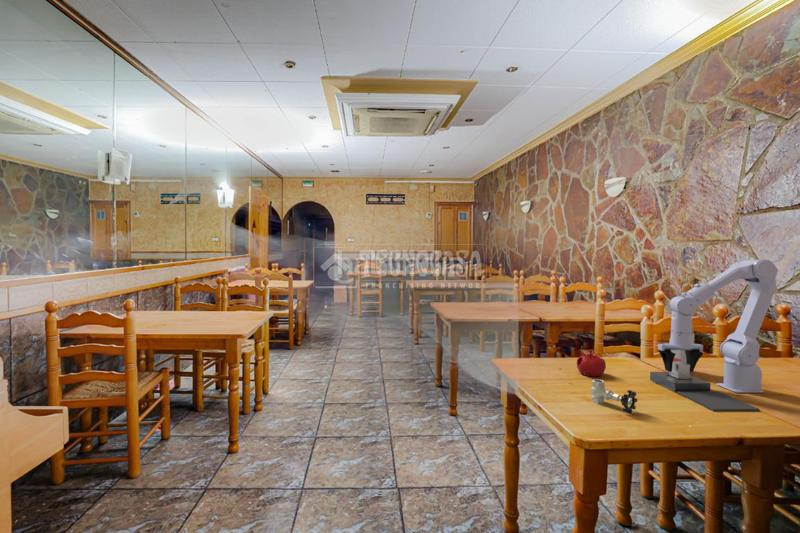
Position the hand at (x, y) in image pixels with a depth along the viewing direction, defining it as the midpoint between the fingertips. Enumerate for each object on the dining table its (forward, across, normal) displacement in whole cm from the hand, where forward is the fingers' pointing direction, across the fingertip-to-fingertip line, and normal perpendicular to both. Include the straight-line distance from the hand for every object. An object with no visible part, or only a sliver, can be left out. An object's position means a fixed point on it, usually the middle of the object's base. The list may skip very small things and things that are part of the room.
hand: (679, 371), depth 134 cm
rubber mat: (+5, -1, +14) cm, 15 cm away
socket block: (+5, 0, 0) cm, 5 cm away
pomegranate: (+6, +24, -13) cm, 28 cm away
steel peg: (+5, 0, 0) cm, 5 cm away
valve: (+6, +34, +17) cm, 38 cm away
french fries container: (+5, -12, -15) cm, 20 cm away
